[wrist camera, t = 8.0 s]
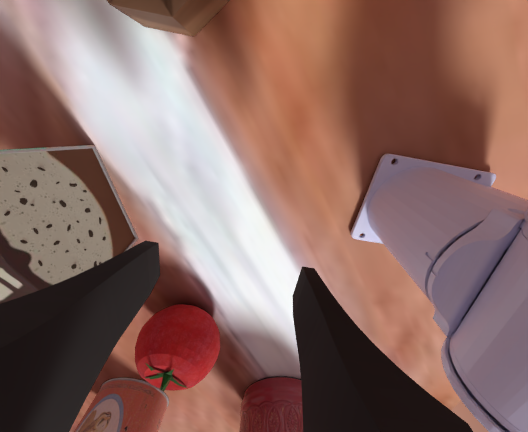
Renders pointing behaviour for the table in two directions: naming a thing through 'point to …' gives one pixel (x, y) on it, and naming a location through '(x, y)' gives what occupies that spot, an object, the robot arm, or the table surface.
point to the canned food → (125, 407)
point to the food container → (56, 217)
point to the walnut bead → (171, 13)
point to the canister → (272, 406)
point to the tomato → (177, 347)
